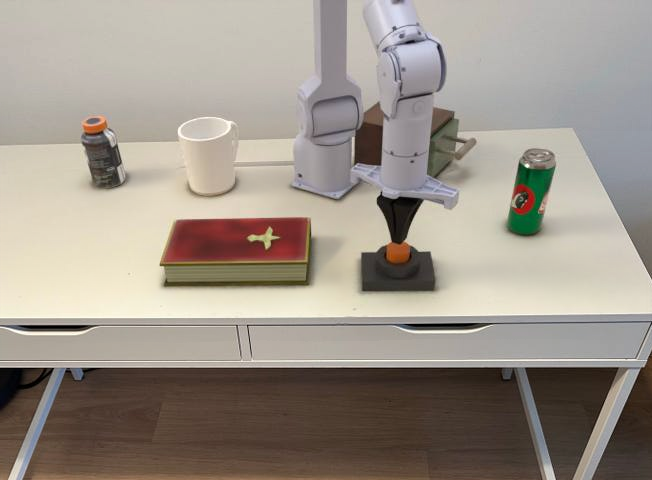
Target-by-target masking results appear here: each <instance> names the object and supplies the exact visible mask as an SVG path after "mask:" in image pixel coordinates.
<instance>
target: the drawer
mask: <svg viewBox="0 0 652 480" xmlns="http://www.w3.org/2000/svg"><path fill="white" fill-rule="evenodd" d="M459 125H460V119H459V118H455V117H454V118H452V119H451V120H450V121H449V122H448V123H447V124H446V125H445V126H444V127H441V128H440V129H439V130H438V131H437V132H436V133H435V134H434V135H433V136H432V137H430V145H429V155H428V165H427V175H429V176H430V177H432V178H435V177H436V176H437V175H438V174H439V172H441V171H442V170H443V168H445V166H447V164H448V163H449V162H450V161H452V159H455V160H456V161H461V160H462V159H463V158H464V157H466V155H467V154H468V153H470V151H471V150H472V149H473V148H474V147H475V146H476V145H477V143H478V142H477V139H476V138H475V137H470V138H462V137H458V132H459ZM457 143H460V144H463V145H462V146H461V147H460V148H459V149H458V150H457V151H456V148H457Z"/></svg>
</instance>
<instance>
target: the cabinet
mask: <svg viewBox="0 0 652 480" xmlns="http://www.w3.org/2000/svg"><path fill="white" fill-rule="evenodd" d="M455 113H456V111H454V110H449V109H445V108H440V107H435V106H433V114H432V124H431V134H430V137H432V136H433V135H434V134H435V133H436V132H437V131H438V130H439V129H440V128H441V127H444V126H445V125H446V124H447V123H448V122H449V121H450V120H451V119H452V118H455ZM383 120H384V112H383V111H382V110H381V107H380V100H378V101H377V102H375V104H373V105H372V106H371V107H369V108H368V109H367V110H366V111H364V118H363V123H362V125H361V127H360V128H359V129H358V130H356V133H355V137H354V141H353V142H354V147H353V148H354V150H353V151H354V153H353V154H354V155H353V157H354V158H353V162H354V163H353V167H354V166H355V165H356V164H358V163H359V164H364V165H373V166H381V164H382V142H383Z"/></svg>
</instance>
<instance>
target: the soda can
mask: <svg viewBox="0 0 652 480" xmlns="http://www.w3.org/2000/svg"><path fill="white" fill-rule="evenodd" d="M556 167H557V161H556V154H555V153H554V152H553V151H551V150H550V149H547V148H543V147H542V148H541V147H533V148H528V149H526V150H525V151H524V152H523V153H522V156H521V157H520V158H519V160H518V164H517V170H516V174H515V178H514V184H513V190H512V193H511V194H512V195H511V199H510V204H509V209H508V213H507V214H508V215H507V219H506V225H507V227H508V229H509V230H510V231H511V232H513V233H514V234H517V235H522V236H529V235H533V234H536V233H537V232H539V231H540V230H541V229H542V224H543V221H544V216H545V212H546V209H547V204H548V200H549V197H550V192H551V187H552V184H553V179H554V175H555V171H556Z"/></svg>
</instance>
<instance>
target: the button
mask: <svg viewBox="0 0 652 480" xmlns="http://www.w3.org/2000/svg"><path fill="white" fill-rule="evenodd" d="M386 245H387V253H386V258H387V260H388V261H389V262H392V263H405V262H407V261H408V260H409V256H410V246H411V244H409V243H408V242H406V241H404V242H403V243H402V244H401V245H399V244H396V243H392V242H391V241H390V242H389V243H387V244H386Z"/></svg>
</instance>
